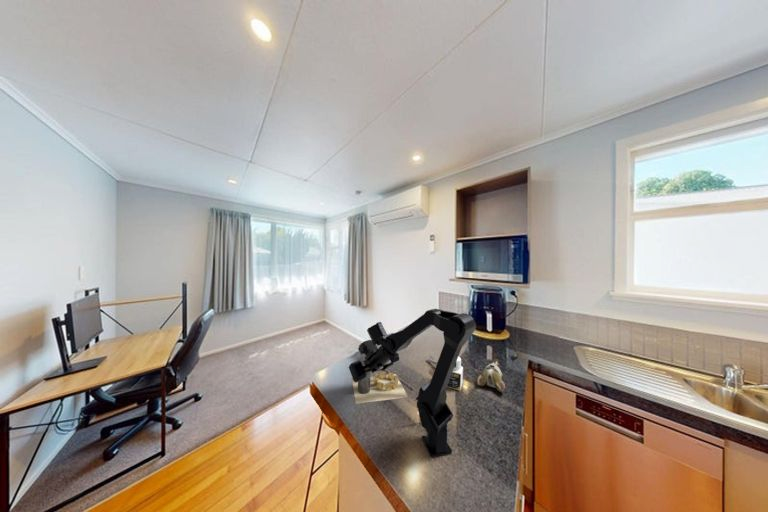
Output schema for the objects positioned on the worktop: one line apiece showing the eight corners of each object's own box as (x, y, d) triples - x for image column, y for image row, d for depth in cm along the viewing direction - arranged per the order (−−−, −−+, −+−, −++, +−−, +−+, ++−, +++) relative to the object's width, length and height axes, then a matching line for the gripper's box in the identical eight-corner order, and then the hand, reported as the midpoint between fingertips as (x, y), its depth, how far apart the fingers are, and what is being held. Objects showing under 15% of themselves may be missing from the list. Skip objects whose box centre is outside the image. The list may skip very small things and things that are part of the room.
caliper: (453, 379, 94) (454, 364, 95) (451, 379, 94) (452, 364, 95) (428, 360, 114) (429, 348, 114) (426, 360, 113) (427, 348, 114)
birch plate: (408, 400, 80) (408, 397, 80) (355, 407, 75) (355, 403, 75) (395, 376, 96) (395, 374, 96) (351, 381, 92) (351, 378, 92)
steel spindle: (371, 393, 81) (371, 361, 82) (358, 394, 80) (359, 362, 81) (369, 385, 86) (369, 356, 87) (356, 387, 85) (357, 357, 86)
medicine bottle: (442, 385, 90) (443, 357, 90) (446, 378, 96) (447, 351, 96) (460, 391, 86) (461, 361, 87) (462, 382, 93) (463, 355, 93)
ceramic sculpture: (506, 361, 95) (504, 378, 83) (507, 380, 95) (504, 400, 83) (481, 355, 101) (475, 370, 89) (481, 373, 101) (475, 390, 89)
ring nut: (400, 389, 84) (400, 383, 84) (376, 392, 82) (376, 386, 82) (393, 376, 94) (393, 370, 94) (371, 378, 92) (371, 372, 92)
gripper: (389, 331, 88) (371, 349, 95) (352, 341, 75) (335, 361, 82) (403, 356, 82) (382, 374, 89) (366, 372, 69) (345, 391, 76)
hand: (362, 374), depth 84 cm, fingers open, 9 cm apart
